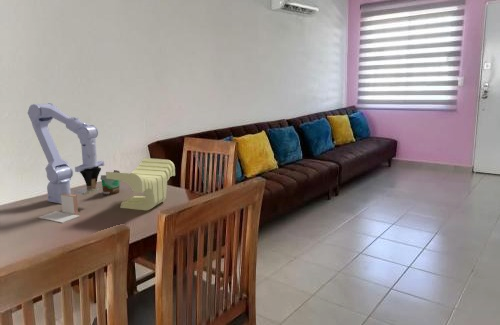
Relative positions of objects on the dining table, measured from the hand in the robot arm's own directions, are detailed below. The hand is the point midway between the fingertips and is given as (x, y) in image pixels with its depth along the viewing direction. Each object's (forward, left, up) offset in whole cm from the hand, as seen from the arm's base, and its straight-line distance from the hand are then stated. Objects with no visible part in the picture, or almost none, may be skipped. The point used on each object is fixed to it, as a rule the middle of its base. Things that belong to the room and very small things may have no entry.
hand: (91, 184), depth 171 cm
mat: (0, -18, -9) cm, 20 cm away
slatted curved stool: (+20, +10, -9) cm, 24 cm away
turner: (0, -3, -2) cm, 4 cm away
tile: (0, -12, -9) cm, 15 cm away
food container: (-5, +19, -9) cm, 21 cm away
